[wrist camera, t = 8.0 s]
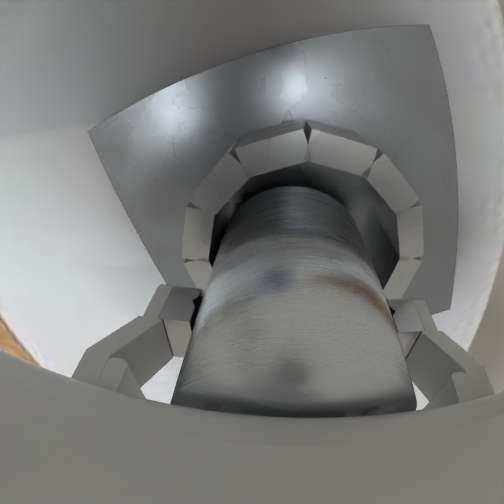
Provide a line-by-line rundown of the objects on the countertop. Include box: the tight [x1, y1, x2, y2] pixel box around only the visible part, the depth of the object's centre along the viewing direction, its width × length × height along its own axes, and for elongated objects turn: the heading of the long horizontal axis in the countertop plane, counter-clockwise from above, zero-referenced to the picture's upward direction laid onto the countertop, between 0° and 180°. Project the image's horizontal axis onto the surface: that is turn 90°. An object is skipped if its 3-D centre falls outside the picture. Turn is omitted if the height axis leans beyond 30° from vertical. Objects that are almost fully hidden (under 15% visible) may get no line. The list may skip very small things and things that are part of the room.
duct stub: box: [88, 25, 458, 315], centre depth 13 cm, size 16×16×4 cm
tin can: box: [171, 186, 417, 418], centre depth 10 cm, size 7×6×8 cm
